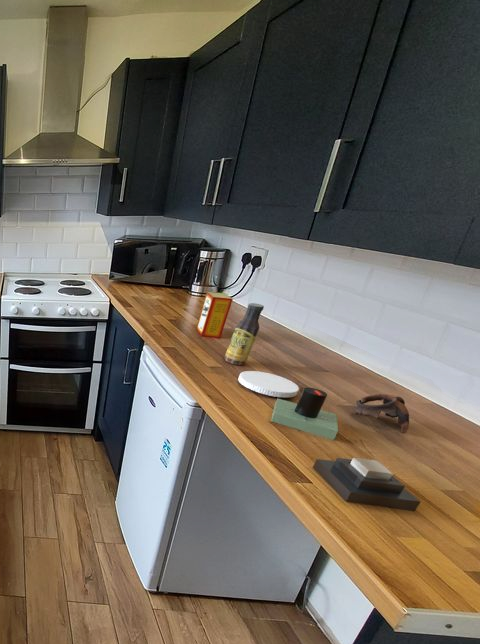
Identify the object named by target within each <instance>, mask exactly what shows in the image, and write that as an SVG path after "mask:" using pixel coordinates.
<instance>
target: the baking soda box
mask: <svg viewBox="0 0 480 644" xmlns="http://www.w3.org/2000/svg"><path fill="white" fill-rule="evenodd" d="M205 293H206V294H205V297H204V300H203V304H202V307H201V311H200V315H199V317H198V322H197V325H196V328H195V329H196V331H197V332H198V334H199V335H200V336H201V337H204V338H213V339H221V337H222V334H223V332H224V328H225V324H226V322H227V319H228V315H229V313H230V310H231V306H232V302H233V300H234V299H233V298H232V297H231V296H229V294H227V293H225V292H215V291H206V292H205Z"/></svg>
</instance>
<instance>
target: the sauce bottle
mask: <svg viewBox="0 0 480 644" xmlns="http://www.w3.org/2000/svg"><path fill="white" fill-rule="evenodd" d="M264 307H265V306H264V305H263V304H260V303H256V302H255V303H254V302H250V303H248V305H247V309H246V311H245V314H244V316H243V318H242V319H241V320H240V321H239V322H238V324H237V325H236V327H235V328H234V331H233V333H232V336H231V339H230V340H229V341H230V342H229V344H228V347H227V350H226V352H225V355H224V361H225V362H227V363H228V364H232V365H234V366H244V365H245V364H246V362H247V361H248V359H249V356H250V354H251V351H252V349H253V346H254V344H255V342H256V339H257V335H258V333H259V331H260V323H259V319H260V316H261V313H262V312H263V311H264Z"/></svg>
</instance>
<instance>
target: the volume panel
mask: <svg viewBox="0 0 480 644" xmlns="http://www.w3.org/2000/svg"><path fill="white" fill-rule="evenodd" d="M296 406H297V403H296V402H292V401H289V400H285V399H281V398H277V399H276V400H275V403H274V405H273V410H272V414H271V419H270V422H272V423H275V424H279V425H281V426H284V427H289V428H292V429H295V430H298V431H301V432H305V433H309V434H312V435H315V436H318V437H322V438H325V439H329V440H332V441H334V440H335V438H336V437H337V435H338V433H339V425H338V416H337V414H336V413H333V412H329V411H326V410H323V409H321V410H320V412H319V414H318V416H317V417H316V418H309V417H305V416H302V415H300V414H298V413H296V412H295V408H296Z"/></svg>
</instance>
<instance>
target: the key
mask: <svg viewBox="0 0 480 644" xmlns="http://www.w3.org/2000/svg"><path fill="white" fill-rule="evenodd" d="M351 460H352V461H351V463H350V465H351V466H352V467H354V468H355V469H356V470H357V471H358V472H359V473H360V474H361V475H363V476H364V477H366V478H374V479H381V480H390V478H391V477H392V476H394V473H393V472H392V471H390V470H389V469H388V468H387V467H385V466H384V465H383V464H382V463H380V461H378V460H376V459H368V458H359V457H352V458H351Z"/></svg>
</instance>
